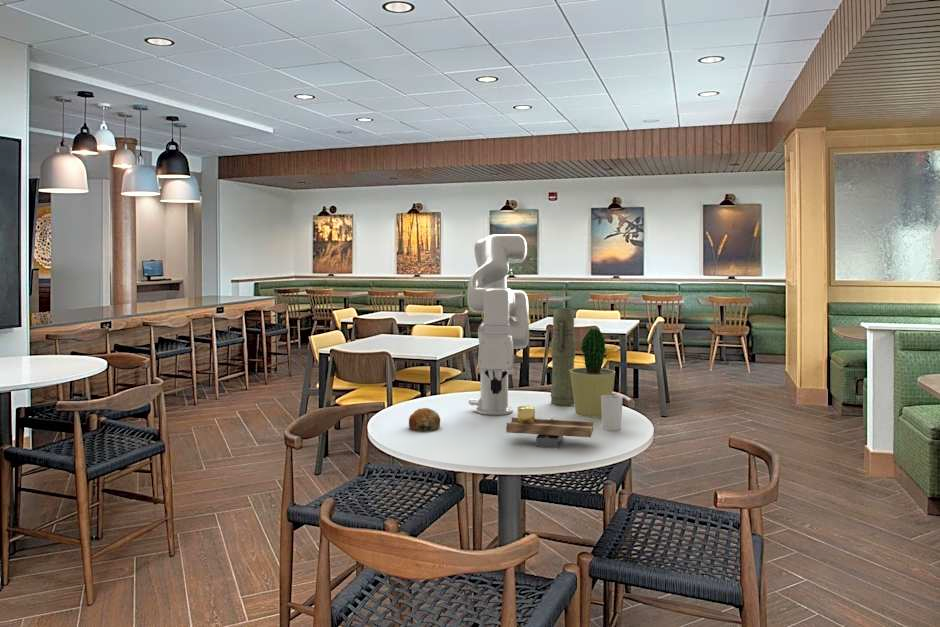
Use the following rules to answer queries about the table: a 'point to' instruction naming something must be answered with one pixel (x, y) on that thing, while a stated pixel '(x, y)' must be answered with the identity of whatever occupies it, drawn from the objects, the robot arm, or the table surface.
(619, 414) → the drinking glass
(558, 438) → the fulcrum
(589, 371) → the potted cactus
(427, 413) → the bread roll
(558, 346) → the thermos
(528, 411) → the rider
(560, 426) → the beam
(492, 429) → the table surface
